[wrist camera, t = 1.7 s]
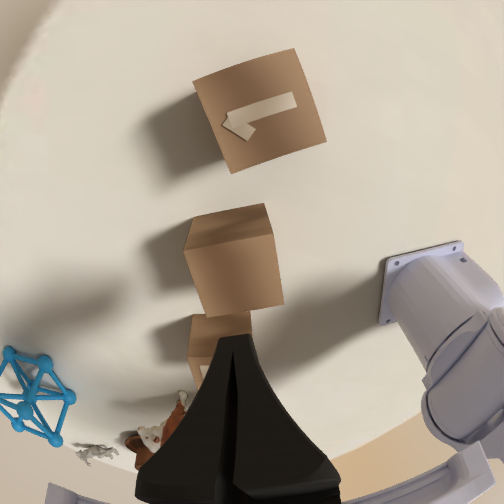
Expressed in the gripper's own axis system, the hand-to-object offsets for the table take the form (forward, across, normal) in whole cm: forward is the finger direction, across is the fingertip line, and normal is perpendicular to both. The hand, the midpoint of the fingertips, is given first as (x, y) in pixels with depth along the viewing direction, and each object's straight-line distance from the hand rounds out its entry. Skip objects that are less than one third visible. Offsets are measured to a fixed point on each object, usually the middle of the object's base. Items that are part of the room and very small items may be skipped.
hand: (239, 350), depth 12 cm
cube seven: (+10, +3, +9) cm, 14 cm away
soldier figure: (+11, +41, +42) cm, 60 cm away
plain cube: (+10, 0, 0) cm, 10 cm away
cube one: (+10, -3, -9) cm, 14 cm away
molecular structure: (+11, +32, +14) cm, 37 cm away
